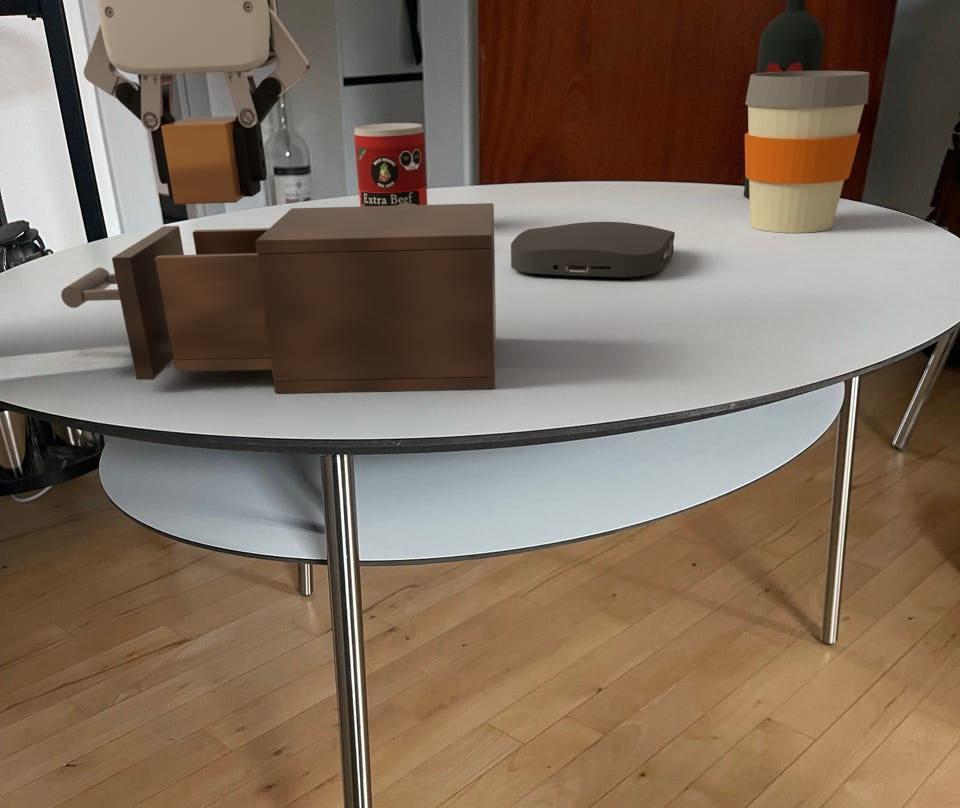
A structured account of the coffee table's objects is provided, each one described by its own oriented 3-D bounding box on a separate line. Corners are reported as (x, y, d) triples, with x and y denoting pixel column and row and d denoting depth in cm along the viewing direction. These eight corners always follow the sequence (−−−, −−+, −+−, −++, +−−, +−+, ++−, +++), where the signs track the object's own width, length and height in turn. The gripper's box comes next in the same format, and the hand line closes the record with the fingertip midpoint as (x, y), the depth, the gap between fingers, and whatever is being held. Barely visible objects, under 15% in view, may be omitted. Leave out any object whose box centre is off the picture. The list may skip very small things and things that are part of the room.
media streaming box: (540, 247, 108) (540, 216, 107) (679, 251, 104) (681, 220, 103) (500, 276, 97) (500, 243, 95) (655, 283, 93) (657, 248, 91)
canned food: (355, 238, 116) (346, 130, 110) (371, 226, 122) (363, 123, 117) (421, 238, 115) (416, 129, 109) (434, 225, 121) (429, 122, 116)
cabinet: (275, 393, 68) (254, 240, 63) (306, 342, 79) (290, 208, 74) (494, 389, 67) (491, 234, 62) (496, 337, 78) (493, 202, 73)
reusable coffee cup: (735, 235, 111) (750, 78, 103) (731, 216, 122) (745, 72, 114) (856, 236, 109) (880, 75, 101) (841, 216, 119) (863, 69, 112)
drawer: (63, 381, 68) (34, 259, 64) (118, 336, 78) (95, 227, 74) (337, 376, 68) (325, 252, 64) (358, 331, 78) (348, 221, 73)
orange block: (236, 202, 65) (225, 123, 63) (174, 204, 65) (160, 125, 63) (256, 189, 70) (246, 115, 68) (198, 191, 70) (186, 117, 68)
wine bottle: (736, 202, 130) (763, -86, 115) (748, 190, 138) (775, -80, 123) (799, 204, 128) (837, -90, 112) (808, 192, 136) (844, -84, 120)
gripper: (319, -151, 61) (349, 183, 70) (42, -140, 61) (109, 190, 71) (298, -171, 54) (334, 199, 64) (-11, -158, 55) (70, 208, 64)
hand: (215, 191), depth 67 cm, fingers closed on orange block, 4 cm apart
